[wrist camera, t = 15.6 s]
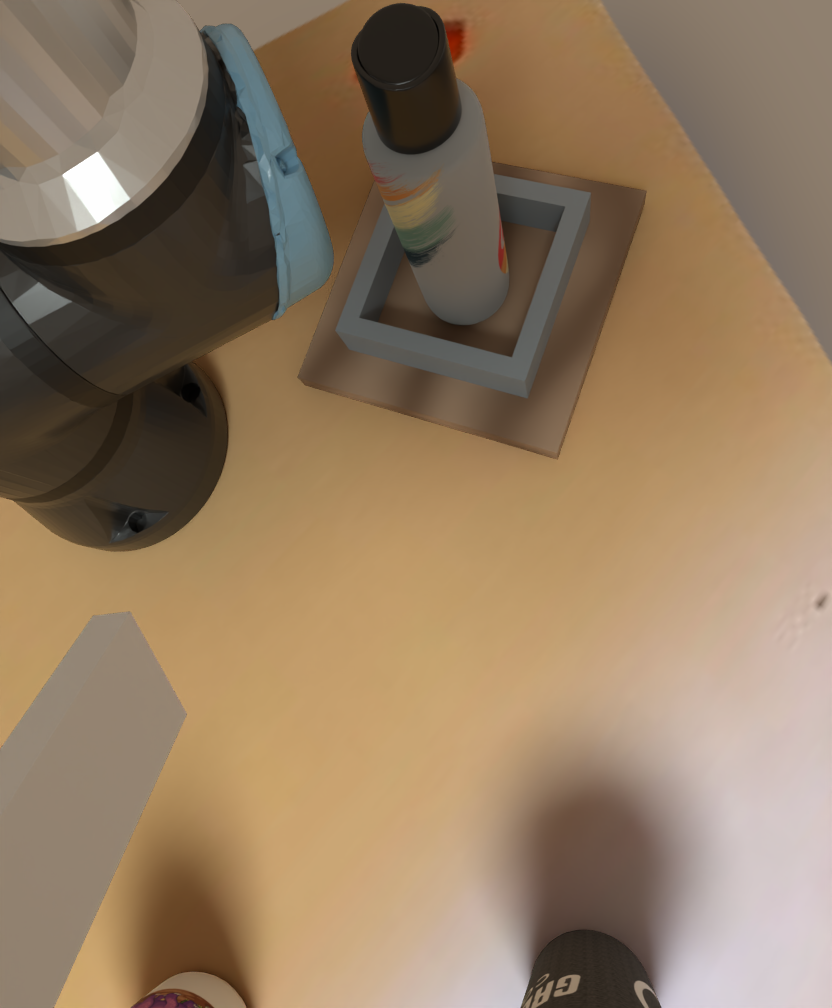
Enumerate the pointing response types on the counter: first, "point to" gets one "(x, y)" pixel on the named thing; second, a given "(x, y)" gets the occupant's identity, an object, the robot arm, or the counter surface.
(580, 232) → the bottle collar
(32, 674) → the counter surface
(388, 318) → the stand board
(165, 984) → the milk bottle
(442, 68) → the lotion bottle
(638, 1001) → the coffee cup
